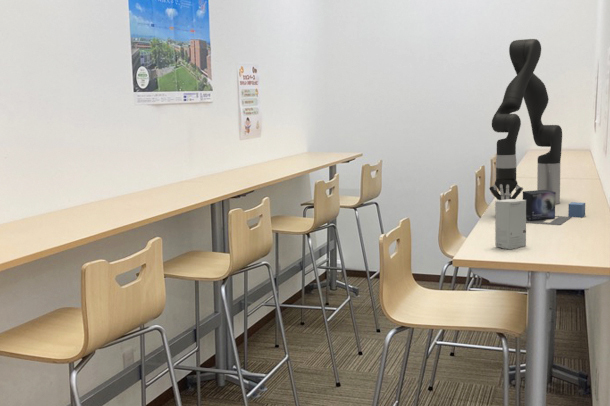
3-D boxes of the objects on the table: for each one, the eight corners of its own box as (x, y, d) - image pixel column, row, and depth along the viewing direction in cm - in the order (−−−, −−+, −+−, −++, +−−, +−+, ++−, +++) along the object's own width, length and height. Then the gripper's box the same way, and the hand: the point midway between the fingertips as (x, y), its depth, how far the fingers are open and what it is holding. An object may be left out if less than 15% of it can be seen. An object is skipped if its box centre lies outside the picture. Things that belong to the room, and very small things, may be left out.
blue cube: (571, 214, 270) (571, 202, 269) (585, 215, 267) (585, 202, 267) (568, 217, 266) (568, 204, 265) (582, 217, 263) (582, 204, 263)
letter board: (518, 214, 276) (518, 213, 276) (571, 217, 264) (571, 216, 264) (505, 221, 262) (505, 220, 262) (560, 225, 251) (560, 224, 251)
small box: (531, 221, 259) (531, 193, 257) (521, 218, 265) (521, 191, 263) (556, 219, 261) (556, 191, 260) (545, 216, 268) (546, 189, 266)
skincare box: (509, 250, 215) (509, 202, 213) (494, 247, 220) (494, 200, 218) (527, 245, 220) (527, 199, 218) (511, 243, 225) (511, 197, 223)
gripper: (526, 165, 266) (526, 210, 269) (492, 165, 274) (492, 208, 276) (520, 167, 260) (520, 213, 263) (485, 167, 268) (486, 211, 270)
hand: (506, 211), depth 270 cm, fingers closed
